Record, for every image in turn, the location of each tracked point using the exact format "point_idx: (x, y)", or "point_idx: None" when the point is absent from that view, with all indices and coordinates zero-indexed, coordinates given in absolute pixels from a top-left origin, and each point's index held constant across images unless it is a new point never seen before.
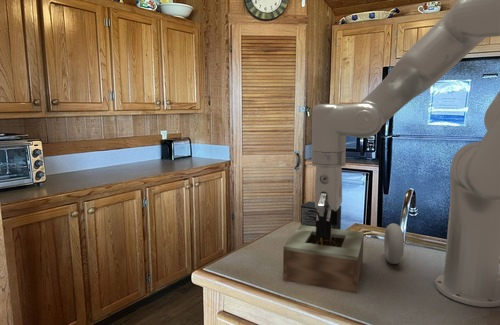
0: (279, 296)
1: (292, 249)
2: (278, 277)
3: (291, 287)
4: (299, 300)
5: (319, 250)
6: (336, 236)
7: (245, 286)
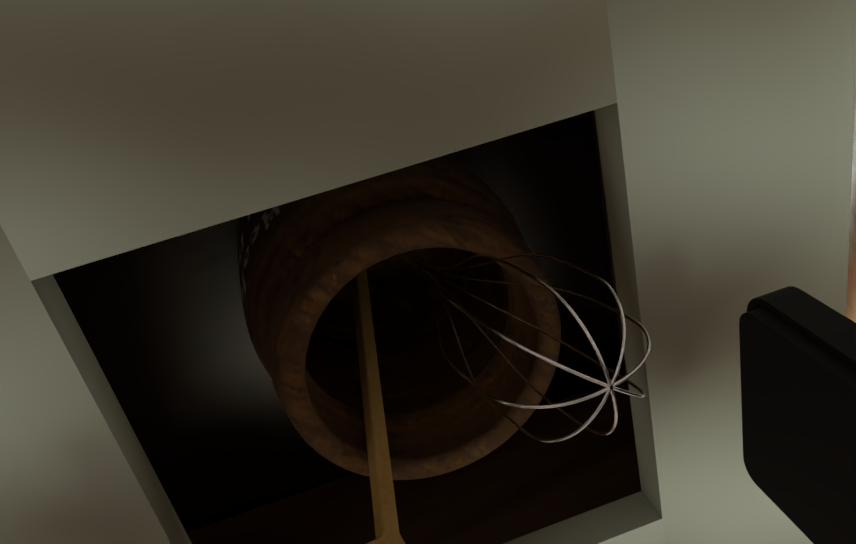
0: (847, 284)
1: None
2: None
3: None
4: (853, 160)
5: (821, 282)
6: (107, 394)
7: None
